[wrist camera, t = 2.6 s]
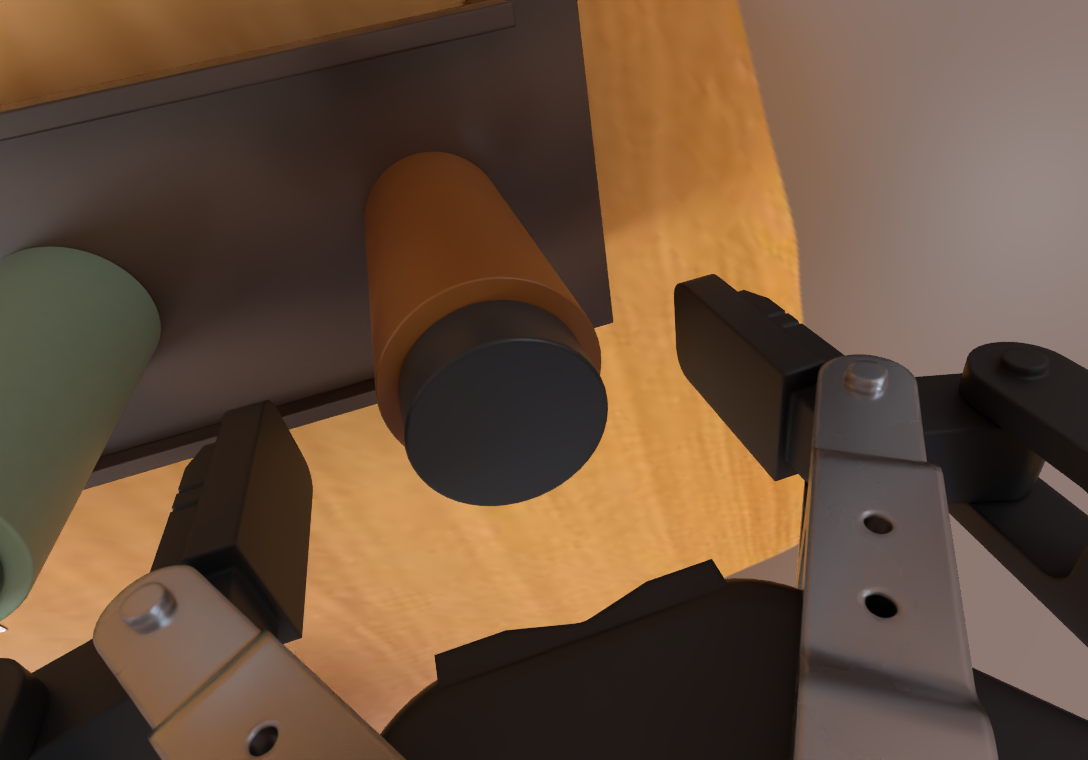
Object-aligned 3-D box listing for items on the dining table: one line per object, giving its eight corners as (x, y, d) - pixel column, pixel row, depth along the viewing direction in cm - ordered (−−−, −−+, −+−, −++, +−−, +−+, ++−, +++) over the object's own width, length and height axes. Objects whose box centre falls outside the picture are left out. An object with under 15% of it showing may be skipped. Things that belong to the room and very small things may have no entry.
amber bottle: (343, 171, 18) (337, 362, 9) (487, 135, 18) (619, 283, 9) (389, 301, 20) (422, 551, 11) (515, 267, 21) (639, 480, 12)
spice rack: (-127, 121, 20) (-349, 187, 13) (518, -17, 22) (584, -15, 16) (80, 387, 26) (-5, 516, 20) (561, 255, 29) (621, 332, 22)
